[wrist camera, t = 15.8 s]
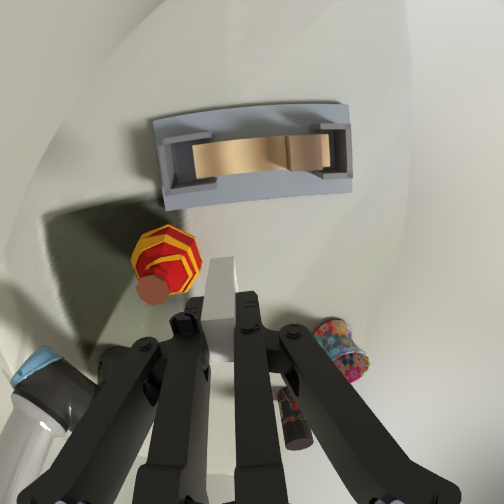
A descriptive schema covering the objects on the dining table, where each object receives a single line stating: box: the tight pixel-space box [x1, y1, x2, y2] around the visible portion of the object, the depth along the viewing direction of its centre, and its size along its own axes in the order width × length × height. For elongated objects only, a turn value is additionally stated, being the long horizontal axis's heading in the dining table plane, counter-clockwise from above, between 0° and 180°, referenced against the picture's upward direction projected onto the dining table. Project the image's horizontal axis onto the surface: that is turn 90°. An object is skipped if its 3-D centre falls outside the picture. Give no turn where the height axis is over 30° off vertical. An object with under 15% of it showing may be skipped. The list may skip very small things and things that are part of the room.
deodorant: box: [277, 387, 314, 451], centre depth 55 cm, size 6×6×15 cm
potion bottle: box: [131, 224, 203, 305], centre depth 38 cm, size 10×10×15 cm
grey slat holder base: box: [153, 104, 353, 211], centre depth 37 cm, size 29×14×6 cm, turn 95°
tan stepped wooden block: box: [192, 134, 330, 179], centre depth 36 cm, size 18×4×7 cm, turn 95°
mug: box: [313, 320, 370, 383], centre depth 50 cm, size 12×9×11 cm
